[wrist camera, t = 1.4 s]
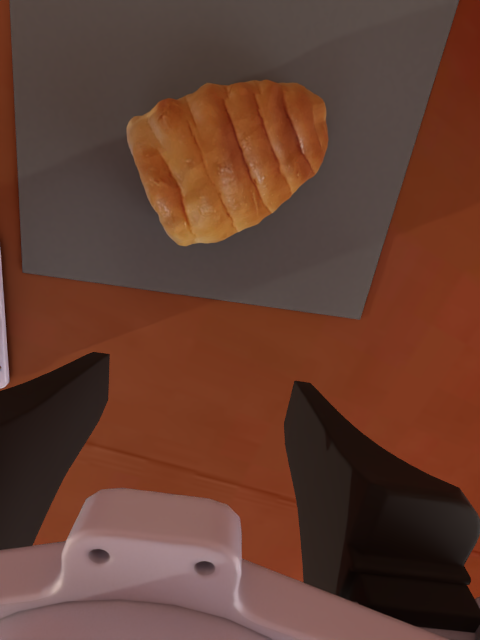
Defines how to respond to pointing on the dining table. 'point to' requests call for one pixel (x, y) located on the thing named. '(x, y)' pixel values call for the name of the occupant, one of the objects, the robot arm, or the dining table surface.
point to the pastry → (227, 155)
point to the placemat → (186, 78)
